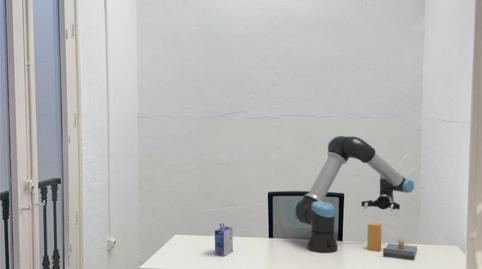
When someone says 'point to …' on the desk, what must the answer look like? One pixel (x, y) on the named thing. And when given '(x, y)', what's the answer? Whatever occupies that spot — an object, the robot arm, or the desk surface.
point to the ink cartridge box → (223, 240)
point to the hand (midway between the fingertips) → (378, 207)
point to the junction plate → (400, 250)
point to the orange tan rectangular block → (374, 236)
